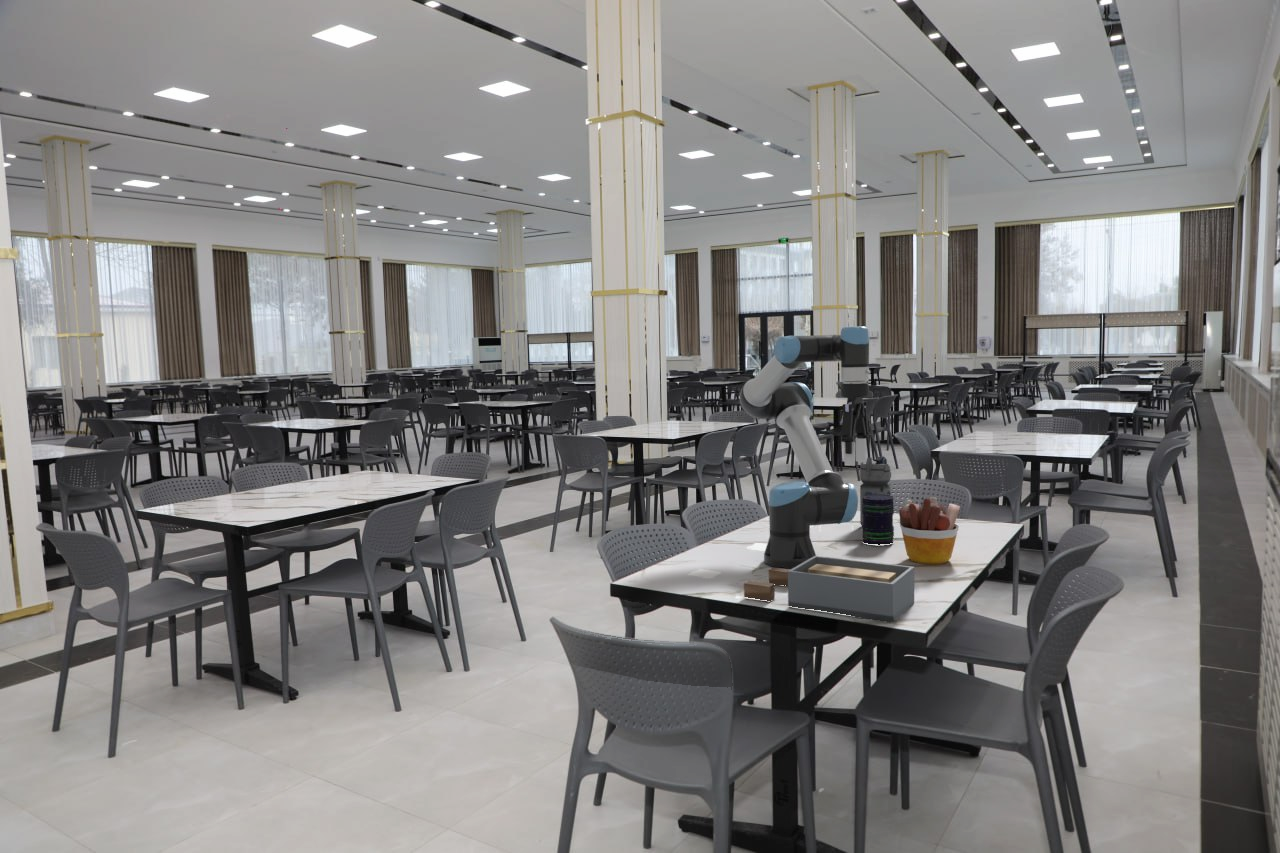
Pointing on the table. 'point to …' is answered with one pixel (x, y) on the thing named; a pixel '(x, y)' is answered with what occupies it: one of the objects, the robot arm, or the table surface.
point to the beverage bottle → (874, 479)
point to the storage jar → (877, 519)
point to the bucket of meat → (929, 530)
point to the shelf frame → (852, 590)
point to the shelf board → (853, 573)
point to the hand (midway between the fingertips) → (855, 463)
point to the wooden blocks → (766, 585)
